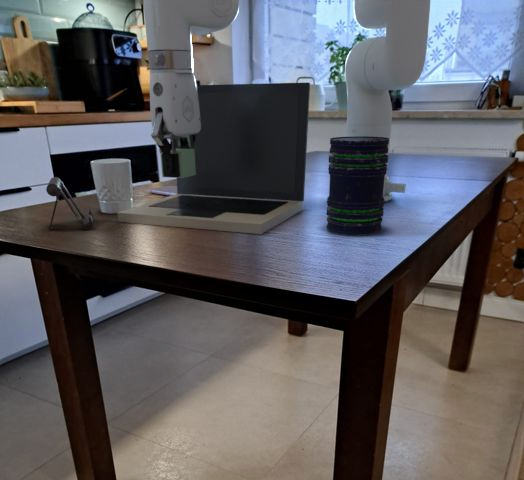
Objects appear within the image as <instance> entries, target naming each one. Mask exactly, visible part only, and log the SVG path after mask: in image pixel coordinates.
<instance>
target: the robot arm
mask: <svg viewBox="0 0 524 480" xmlns="http://www.w3.org/2000/svg"><path fill="white" fill-rule="evenodd" d="M142 3H143V16H144V24H145V36H146V47H147V59H148V68H149V69H148V70H149V110H150V121H151V128H152V130H151V133H150V136H151V139H152V140H153V141H154V142H155V143H156V145H157V147H158V148H159V149H158V150H159V155H160V154H162V164H163V175H164V177H163V178H173V177H179V176H180V170H179V157H178V154H175V153H176V140H177V141H178V146H179V149H194V148H195V147H194V142H195V139H196V136H197V134H198V133H199V132H200V130H201V120H200V109H199V100H198V92H197V86H196V85H197V83H196V77H195V74H194V58H193V44H192V43H193V42H192V34H193V35H195V36H204V35H207V34H210V33H211V34H212V33H215V32H219V31H222V30H225V29H227V28H228V27H230V26H231V25H232V24H233V23H234V21H235V20H236V19H237V16H238V14H239V11H240V0H142ZM430 10H431V0H353V16H354V20H355V22H356V23H357V25H358V26H359V27H360V28H362V29H365V30H368V31H369V30H381V29H384V35H381V36H376V37H369V38H366V39H363V40H361V41H359V42H357V43H356V44H355V45H354V46H353V47H352V48H351V49H350V51H349V53H348V54H347V56H346V59H345V64H344V78H345V85H346V103H347V105H346V108H347V109H346V127H345V137H355V136H367V137H385V138H389V144H388V153H387V154H386V155H388V157H389V156H390V155H389V154H390V143H391V133H392V132H391V131H392V123H393V104H392V101H391V100H392V99H391V95H390V91H400V90H401V91H402V90H406V89H408V88H410V87H412V86H413V85H415V84H416V83H417V82H418V80H419V79H420V77H421V76H422V73H423V71H424V66H425V62H426V56H427V47H428V35H429V25H430V24H429V23H430V12H431V11H430ZM183 137H184V140H183ZM169 140H170V142H169ZM385 164H387V168H388V166H389V162H388V163H385ZM390 179H391V177H390V176H388V172H387V173H386V175H385V177H384V189H383V198H384V203H385V202H388V201H391V200H392V199H393V193H397V194H399V193H400V194H405V193H406V189H407V184H406V183H402V182H396V183H395V182H392V181H390Z"/></svg>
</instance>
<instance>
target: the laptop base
mask: <svg viewBox="0 0 524 480" xmlns="http://www.w3.org/2000/svg"><path fill="white" fill-rule="evenodd" d="M302 211H303V201H288V200H272V199H256V198H239V197H223V196H207V195H188V194H175V195H172V196H169V195H168V196H166V197H162V198H159V199H155V200H152V201H149V202H147V203H146V202H145V203H143V204H140V205H138V206H133V208H130V209H127V210H124V211H121V212H118V213H116V214H117V220H118V221H117V222H119V223H126V224H127V223H128V224H139V225H148V226H149V225H151V226H152V225H153V226H163V227H174V228H185V229H195V230H206V231H207V230H208V231H219V232H230V233H240V234H241V233H242V234H253V235H263V234H264V233H266V232H269V230H272V229H273V228H275V227H276V226H278V225H280V224H281V223H284V222H285V221H286V220H288V219H290V218H291V217H293V216H295V215H296V214H298V213H300V212H302Z"/></svg>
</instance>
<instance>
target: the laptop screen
mask: <svg viewBox="0 0 524 480" xmlns="http://www.w3.org/2000/svg"><path fill="white" fill-rule="evenodd" d="M196 86H197V92H198V100H199V109H200V120H201V130H200V132H199V133H198V134H197V136H196V139H195V142H194V147H195V148H194V152H195V168H196V175H193V176H190V177H186V178H176V186H177V194H190V195H205V196H221V197H237V198H253V199H270V200H286V201H302V202H304V201H305V186H306V169H307V151H308V133H309V132H308V131H309V116H310V115H309V114H310V113H309V112H310V94H311V83H310V82H275V83H273V82H271V83H269V82H268V83H267V82H265V83H228V84H225V83H224V84H196ZM183 140H184V137H183ZM176 149H179V146H178V141H177V140H176Z"/></svg>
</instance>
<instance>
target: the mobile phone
mask: <svg viewBox="0 0 524 480" xmlns="http://www.w3.org/2000/svg"><path fill="white" fill-rule="evenodd" d="M148 191H149V193H151V194H156V195H161V196H168V197H169V196H172V195H175V194H177V185H166V186H159V187H154V188H150V189H149V190H148ZM188 195H190V194H188Z"/></svg>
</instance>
